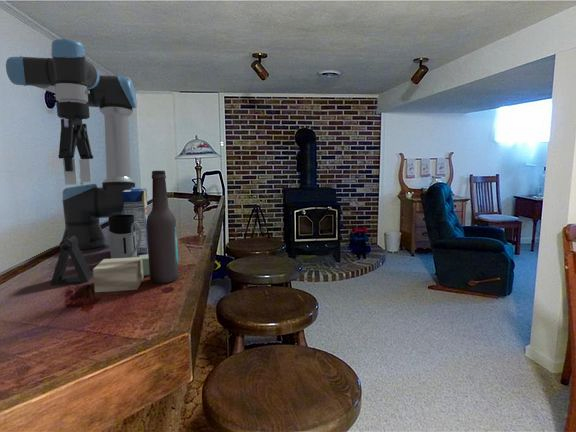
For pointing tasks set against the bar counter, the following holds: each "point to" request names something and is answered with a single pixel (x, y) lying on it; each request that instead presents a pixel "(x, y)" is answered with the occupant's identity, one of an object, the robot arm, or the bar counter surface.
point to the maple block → (118, 274)
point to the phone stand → (78, 262)
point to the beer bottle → (161, 234)
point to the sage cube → (145, 264)
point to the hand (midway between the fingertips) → (79, 183)
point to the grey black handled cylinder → (123, 236)
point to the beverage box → (137, 214)
